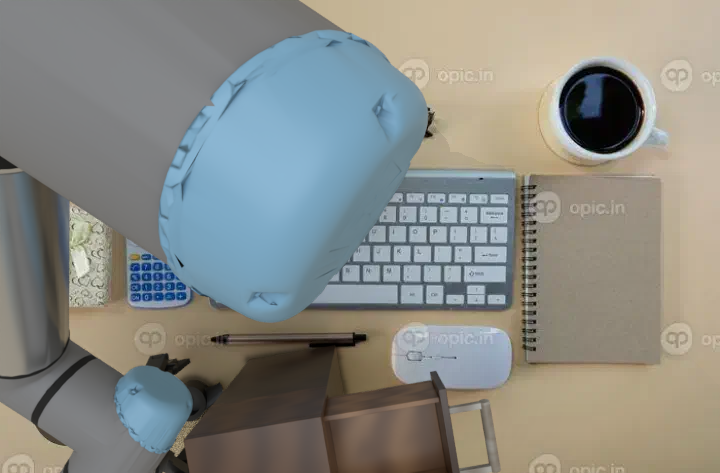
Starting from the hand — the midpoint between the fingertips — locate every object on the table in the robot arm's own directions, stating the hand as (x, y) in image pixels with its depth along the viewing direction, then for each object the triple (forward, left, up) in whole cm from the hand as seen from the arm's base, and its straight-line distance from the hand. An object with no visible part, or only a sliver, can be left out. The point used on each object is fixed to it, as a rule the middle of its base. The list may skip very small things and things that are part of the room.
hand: (189, 402), depth 77 cm
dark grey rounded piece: (0, 0, -2) cm, 2 cm away
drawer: (-34, +2, +19) cm, 39 cm away
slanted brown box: (-18, +2, -2) cm, 18 cm away
